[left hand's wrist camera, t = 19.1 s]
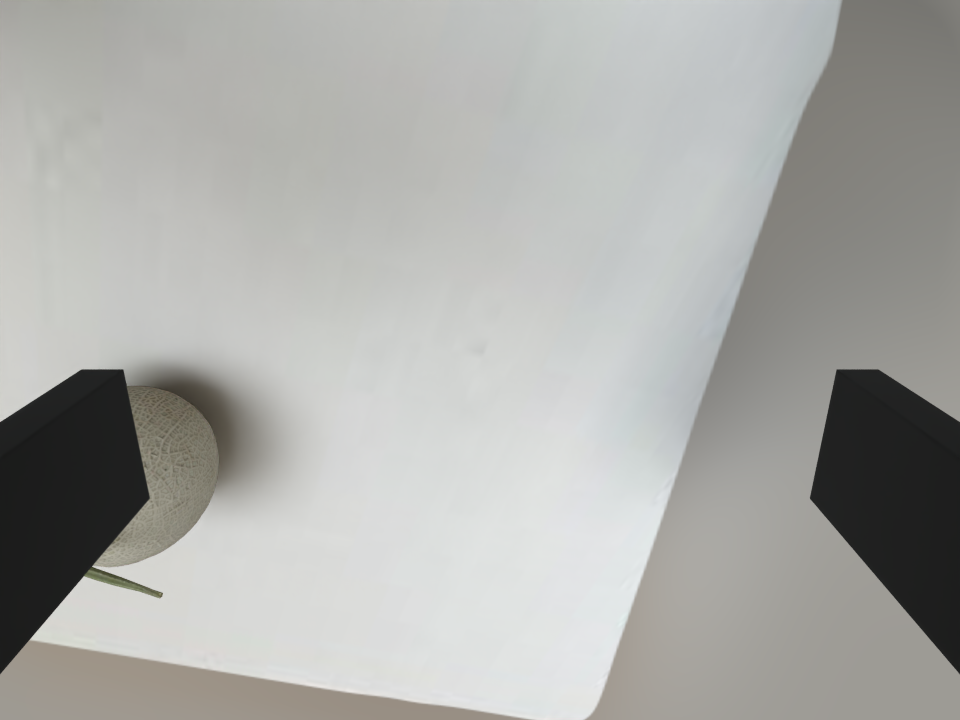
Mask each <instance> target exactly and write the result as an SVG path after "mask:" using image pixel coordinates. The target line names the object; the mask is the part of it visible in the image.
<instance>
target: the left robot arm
mask: <svg viewBox="0 0 960 720" xmlns="http://www.w3.org/2000/svg"><path fill="white" fill-rule="evenodd" d="M149 499H150V496H149V491H148V486H147V481H146V476H145V472H144V467H143V462H142V457H141V452H140V448H139V443H138V438H137V433H136V428H135V423H134V419H133V414H132V409H131V404H130V399H129V395H128V390H127V385H126V380H125V375H124V371H123V370H80V371H79V372H77V373H76V374H74V375H72V376H71V377H69V378H68V379H66V380H65V381H63V382H62V383H60V384H59V385H57V386H55V387H54V388H52V389H51V390H49V391H48V392H46V393H45V394H43V395H42V396H40V397H38V398H37V399H35V400H34V401H32V402H31V403H29V404H28V405H26V406H25V407H23V408H21V409H20V410H18V411H17V412H15V413H14V414H12V415H11V416H9V417H8V418H6V419H4V420H3V421H1V422H0V674H1V673H2V671H3V670H4V669H5V668H6V667H7V665H8V664H9V663H10V662H11V661H12V660H13V658H14V657H15V656H16V655H17V654H18V652H19V651H20V650H21V649H22V648H23V647H24V646H25V644H26V643H27V642H28V641H29V640H30V639H31V637H32V636H33V635H34V634H35V633H36V632H37V630H38V629H39V628H40V627H41V626H42V624H43V623H44V622H45V621H46V620H47V619H48V617H49V616H50V615H51V614H52V613H53V612H54V610H55V609H56V608H57V607H58V606H59V605H60V603H61V602H62V601H63V600H64V599H65V598H66V596H67V595H68V594H69V593H70V592H71V590H72V589H73V588H74V587H75V586H76V585H77V583H78V582H79V581H80V580H81V579H82V578H83V576H84V575H85V574H86V573H87V572H88V571H89V569H90V568H91V567H92V566H93V565H94V564H95V562H96V561H97V560H98V559H99V558H100V557H101V555H102V554H103V553H104V552H105V551H106V549H107V548H108V547H109V546H110V545H111V544H112V542H113V541H114V540H115V539H116V538H117V537H118V535H119V534H120V533H121V532H122V531H123V530H124V528H125V527H126V526H127V525H128V524H129V523H130V521H131V520H132V519H133V518H134V517H135V516H136V514H137V513H138V512H139V511H140V510H141V508H142V507H143V506H144V505H145V504H146V503H147V501H148V500H149ZM810 499H811V500H812V501H813V503H814V504H815V505H816V506H817V507H818V508H819V510H820V511H821V512H822V513H823V514H824V516H825V517H826V518H827V519H828V520H829V521H830V523H831V524H832V525H833V526H834V527H835V528H836V530H837V531H838V532H839V533H840V534H841V535H842V536H843V538H844V539H845V540H846V541H847V542H848V544H849V545H850V546H851V547H852V548H853V549H854V551H855V552H856V553H857V554H858V555H859V557H860V558H861V559H862V560H863V561H864V562H865V564H866V565H867V566H868V567H869V568H870V569H871V570H872V572H873V573H874V574H875V575H876V576H877V578H878V579H879V580H880V581H881V582H882V583H883V585H884V586H885V587H886V588H887V589H888V590H889V592H890V593H891V594H892V595H893V596H894V598H895V599H896V600H897V601H898V602H899V603H900V605H901V606H902V607H903V608H904V609H905V610H906V612H907V613H908V614H909V615H910V616H911V617H912V619H913V620H914V621H915V622H916V623H917V624H918V626H919V627H920V628H921V629H922V630H923V631H924V633H925V634H926V635H927V636H928V637H929V639H930V640H931V641H932V642H933V643H934V644H935V646H936V647H937V648H938V649H939V650H940V651H941V653H942V654H943V655H944V656H945V657H946V658H947V660H948V661H949V662H950V663H951V664H952V665H953V667H954V668H955V669H956V670H957V671H958V672H959V674H960V422H959V421H957V420H956V419H954V418H952V417H951V416H949V415H948V414H946V413H945V412H943V411H942V410H940V409H939V408H937V407H935V406H934V405H932V404H931V403H929V402H928V401H926V400H925V399H923V398H922V397H920V396H918V395H917V394H915V393H914V392H912V391H911V390H909V389H908V388H906V387H904V386H903V385H901V384H900V383H898V382H897V381H895V380H894V379H892V378H891V377H889V376H888V375H886V374H884V373H883V372H881V371H880V370H837V371H836V375H835V380H834V385H833V390H832V395H831V400H830V404H829V409H828V414H827V419H826V424H825V428H824V433H823V438H822V443H821V448H820V452H819V457H818V462H817V467H816V472H815V476H814V481H813V486H812V491H811V496H810Z"/></svg>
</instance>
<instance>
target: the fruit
mask: <svg viewBox="0 0 960 720" xmlns="http://www.w3.org/2000/svg"><path fill="white" fill-rule="evenodd" d="M127 390H128V395H129V399H130V404H131V409H132V414H133V419H134V423H135V428H136V433H137V438H138V443H139V448H140V452H141V457H142V462H143V467H144V472H145V476H146V481H147V486H148V491H149V496H150V499H149V500H148V501H147V503H146V504H145V505H144V506H143V507H142V508H141V510H140V511H139V512H138V513H137V514H136V516H135V517H134V518H133V519H132V520H131V521H130V523H129V524H128V525H127V526H126V527H125V528H124V530H123V531H122V532H121V533H120V534H119V535H118V537H117V538H116V539H115V540H114V541H113V542H112V544H111V545H110V546H109V547H108V548H107V549H106V551H105V552H104V553H103V554H102V555H101V557H100V558H99V559H98V560H97V561H96V562H95V564H94V566H101V567H116V566H124V565H129V564H133V563H136V562H139V561H142V560H144V559H146V558H149V557H151V556H154V555H156V554H158V553H160V552H162V551H164V550H166V549H167V548H169V547H170V546H172V545H173V544H175V543H176V542H177V541H178V540H180V539H181V538H182V537H183V536H184V535H185V534H186V533H187V532H188V531H190V530H191V528H192V527H193V526H194V525H195V524H196V523H197V521H198V520H199V518H200V517H201V515H202V514H203V512H204V511H205V510H206V508H207V506H208V504H209V502H210V500H211V497H212V495H213V493H214V489H215V485H216V482H217V477H218V469H219V453H218V447H217V442H216V439H215V436H214V433H213V431H212V428H211V426H210V425H209V423H208V422H207V420H206V419H205V418H204V416H203V415H202V414H201V413H200V412H199V411H198V410H197V409H196V408H195V407H194V406H193V405H192V404H190V403H189V402H187V401H186V400H184V399H183V398H181V397H180V396H178V395H176V394H174V393H171V392H168V391H165V390H162V389H158V388H152V387H146V386H127ZM84 576H85V577H88V578H91V579H94V580H97V581H101V582H104V583H108V584H111V585H115V586H119V587H123V588H127V589H131V590H135V591H140V592H143V593H146V594H148V595H151V596H154V597H157V598H161V597H162V595H163V593H161V592H158V591H155V590H152V589H150V588H148V587H145V586H142V585H140V584H137V583H135V582H132V581H129V580H127V579H124V578H122V577H119V576H116V575H113V574H110V573H107V572H105V571H102V570H99V569H96V568H94V567H91V568H90V569H89V571H88V572H87V573H86V574H85V575H84Z"/></svg>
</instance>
